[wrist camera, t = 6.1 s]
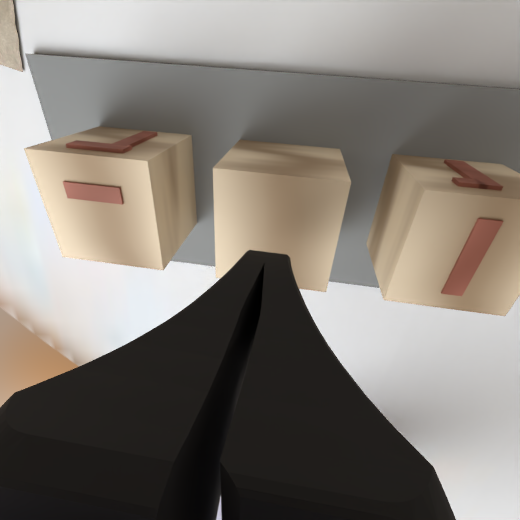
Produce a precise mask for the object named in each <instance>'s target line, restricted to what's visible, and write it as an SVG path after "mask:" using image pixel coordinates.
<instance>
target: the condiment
mask: <svg viewBox="0 0 520 520" xmlns="http://www.w3.org/2000/svg"><path fill="white" fill-rule="evenodd" d="M0 64H1V65H3V66H6V67H9V68H12V69H15V70H18V71H21V72H23V69H22V62H21V58H20V52H19V39H18V33H17V30H16V26H15V14H14V4H13V1H12V0H0Z"/></svg>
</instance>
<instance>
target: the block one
mask: <svg viewBox="0 0 520 520" xmlns="http://www.w3.org/2000/svg"><path fill="white" fill-rule="evenodd" d="M366 244H367V247H368V251H369V254H370V257H371V261H372V264H373V267H374V270H375V274H376V277H377V280H378V283H379V287H380V290H381V293H382V296H383V300H387V301H395V302H402V303H410V304H417V305H425V306H432V307H440V308H447V309H455V310H462V311H470V312H477V313H485V314H492V315H500V316H505V315H506V314H507V313H508V311H509V310H510V308H511V307H512V305H513V304H514V302H515V301H516V299H517V298H518V297H519V295H520V173H518V172H516V171H514V170H512V169H510V168H508V167H506V166H504V165H503V164H495V163H484V162H474V161H463V160H452V159H441V158H430V157H420V156H409V155H398V154H392V157H391V160H390V164H389V167H388V170H387V174H386V177H385V181H384V184H383V188H382V191H381V194H380V198H379V201H378V205H377V208H376V212H375V215H374V219H373V222H372V225H371V229H370V232H369V236H368V239H367V243H366Z"/></svg>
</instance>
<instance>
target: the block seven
mask: <svg viewBox="0 0 520 520" xmlns="http://www.w3.org/2000/svg"><path fill="white" fill-rule="evenodd" d="M24 150H25V153H26V156H27V158H28V161H29V164H30V167H31V170H32V172H33V175H34V178H35V181H36V184H37V186H38V189H39V192H40V195H41V197H42V200H43V203H44V206H45V209H46V211H47V214H48V217H49V220H50V223H51V225H52V228H53V231H54V234H55V236H56V239H57V242H58V245H59V248H60V250H61V253H62V256H63V257H67V258H75V259H82V260H90V261H97V262H105V263H112V264H120V265H128V266H135V267H143V268H150V269H158V270H164V269H165V267H166V266H167V264H168V263H169V262H170V260H171V259H172V257H173V256H174V255H175V253H176V252H177V250H178V249H179V248H180V246H181V245H182V243H183V242H184V241H185V239H186V238H187V237H188V235H189V234H190V232H191V231H192V230H193V228H194V227H195V225H196V224H197V214H196V198H195V182H194V166H193V151H192V135H187V134H176V133H165V132H155V131H144V130H133V129H122V128H111V127H101V126H99V127H95V128H92V129H89V130H85V131H82V132H78V133H75V134H72V135H68V136H65V137H61V138H58V139H55V140H51V141H48V142H44V143H41V144H38V145H34V146H31V147H28V148H24Z"/></svg>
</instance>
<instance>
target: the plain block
mask: <svg viewBox="0 0 520 520" xmlns="http://www.w3.org/2000/svg"><path fill="white" fill-rule="evenodd" d="M350 186H351V180H350V177H349V174H348V171H347V168H346V165H345V162H344V159H343V156H342V153H341V150H340V149H336V148H325V147H314V146H303V145H293V144H282V143H271V142H260V141H249V140H239V141H238V142H237V143H236V144H235V145H234V146H233V147H232V148H231V149H230V150H229V151H228V152H227V153H226V155H225V156H224V157H223V158H222V159H221V160H220V161H219V162H218V163H217V164H216V165H215V166H214V167H213V194H214V230H215V265H216V278H222V277H223V276H224V275H225V274H226V273H227V272H228V271H229V270H230V269H231V268H232V267H233V266H234V265H235V264H236V263H237V262H238V260H239V259H240V258H241V257H242V256H243V255H244V254H245V253H246V252H247V251H248V250H255V251H263V252H271V253H279V254H287V255H288V256H289V257H290V261H291V267H292V271H293V274H294V277H295V280H296V283H297V286H298V288H299V289H306V290H314V291H321V292H326V290H327V286H328V281H329V277H330V273H331V268H332V264H333V260H334V255H335V251H336V247H337V242H338V238H339V233H340V229H341V225H342V220H343V216H344V212H345V207H346V203H347V199H348V194H349V190H350Z"/></svg>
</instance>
